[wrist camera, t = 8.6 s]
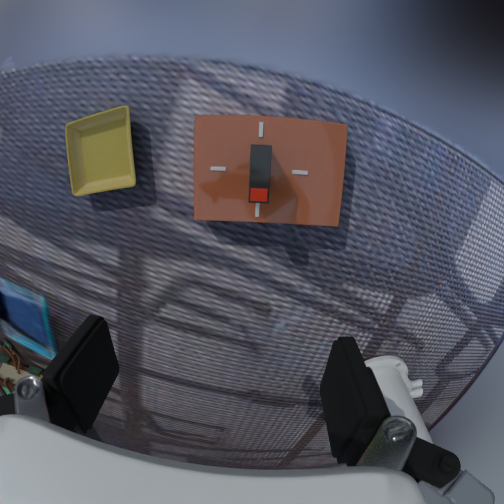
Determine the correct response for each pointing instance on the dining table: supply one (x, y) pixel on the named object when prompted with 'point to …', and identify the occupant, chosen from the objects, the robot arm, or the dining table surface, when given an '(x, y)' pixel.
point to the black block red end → (259, 173)
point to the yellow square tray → (100, 152)
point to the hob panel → (282, 169)
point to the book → (14, 370)
